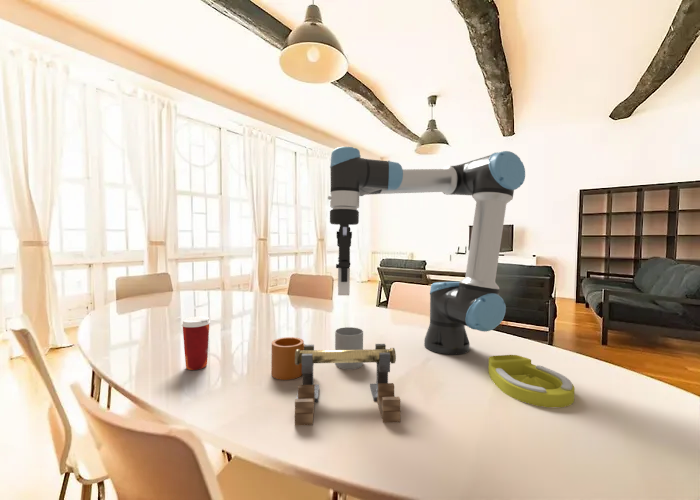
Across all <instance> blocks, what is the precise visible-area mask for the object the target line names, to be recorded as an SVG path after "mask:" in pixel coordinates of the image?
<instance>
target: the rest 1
mask: <svg viewBox="0 0 700 500" xmlns="http://www.w3.org/2000/svg"><path fill="white" fill-rule="evenodd" d="M315 385H316V384H313V385H303V384H298V386H297V392H298V399H296V398H295V400H294V426H295V427H296V426H297V427H298V426H313V425H314V424H313V423H314V415H315V405H316V404H315V403H316V402H315Z"/></svg>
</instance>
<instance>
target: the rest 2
mask: <svg viewBox="0 0 700 500" xmlns="http://www.w3.org/2000/svg"><path fill="white" fill-rule="evenodd" d="M394 396H395V384H394V383H393V382H388V383H378V393H377V401H376V403H377V407H378V409H379V413H380V417H381V421H382V423H383V424H387V423H388V424H390V423H401V398H400V396H395V397H394Z"/></svg>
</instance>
